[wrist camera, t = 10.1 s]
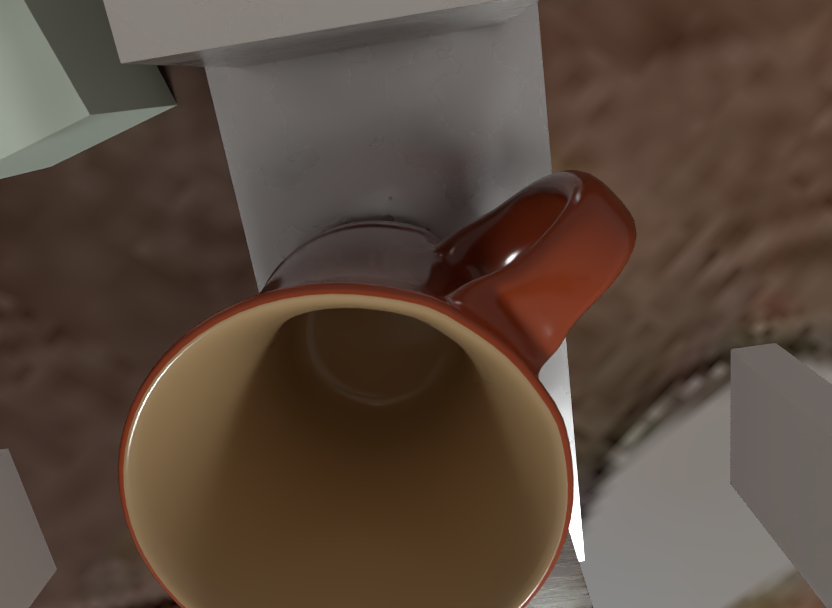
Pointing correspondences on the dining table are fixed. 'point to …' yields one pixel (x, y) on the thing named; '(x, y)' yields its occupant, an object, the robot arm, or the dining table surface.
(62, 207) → the dining table surface
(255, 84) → the grey u-shaped block
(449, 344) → the mug
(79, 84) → the block
